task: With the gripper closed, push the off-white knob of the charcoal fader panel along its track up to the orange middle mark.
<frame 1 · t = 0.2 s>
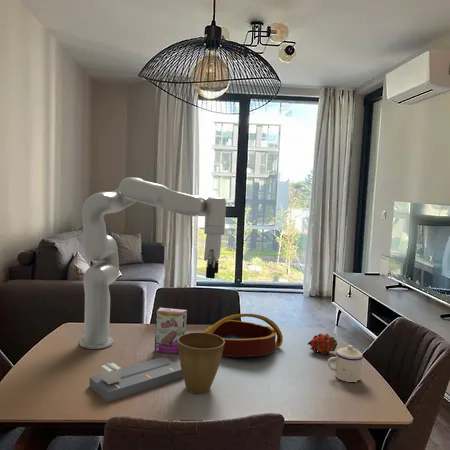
hand: (212, 275, 161), 31 cm above the table, tool pointing down, fingers open, 9 cm apart
fader panel: (138, 381, 139), on the table
plant pot: (198, 388, 137), on the table
fader knob: (110, 372, 132), point 6 cm above the table, slide at 0.0 cm
teacup with lid: (343, 378, 151), on the table
dragon fruit: (321, 353, 173), on the table
candy bar box: (169, 351, 166), on the table
decorative basket: (242, 350, 172), on the table
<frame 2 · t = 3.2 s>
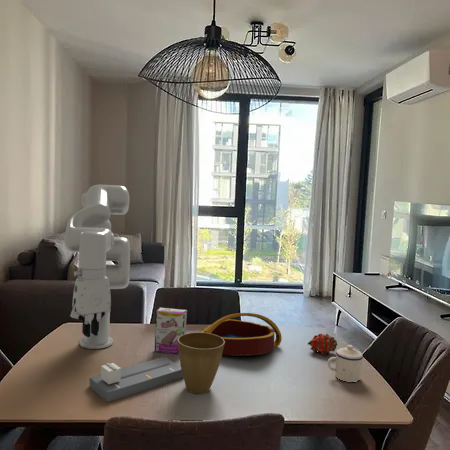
hand: (90, 334, 126), 19 cm above the table, tool pointing down, fingers closed
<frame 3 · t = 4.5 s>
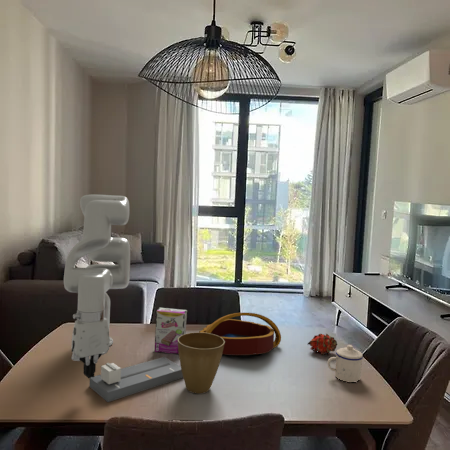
hand: (89, 375, 127), 7 cm above the table, tool pointing down, fingers closed
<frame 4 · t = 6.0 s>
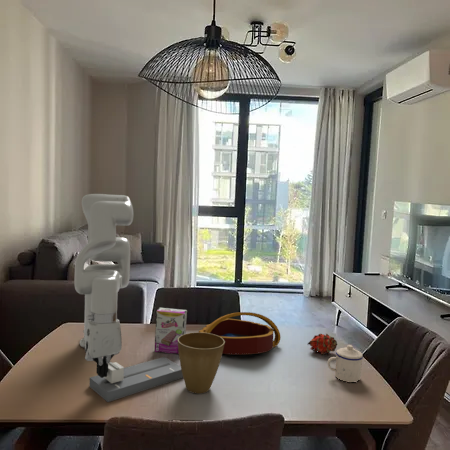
hand: (102, 375, 130), 6 cm above the table, tool pointing down, fingers closed
fader knob: (113, 371, 133), point 6 cm above the table, slide at 1.0 cm, touching gripper
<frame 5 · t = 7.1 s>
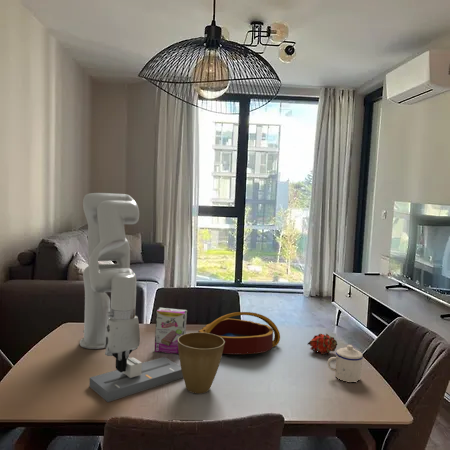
hand: (121, 370, 134), 6 cm above the table, tool pointing down, fingers closed
fader knob: (132, 366, 137), point 6 cm above the table, slide at 7.4 cm, touching gripper
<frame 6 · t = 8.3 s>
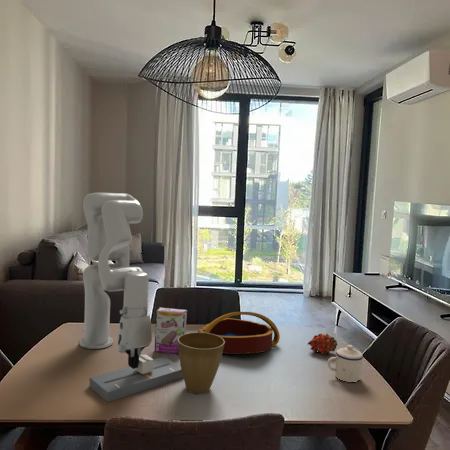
hand: (133, 366, 137), 6 cm above the table, tool pointing down, fingers closed
fader knob: (143, 363, 140), point 6 cm above the table, slide at 11.8 cm, touching gripper
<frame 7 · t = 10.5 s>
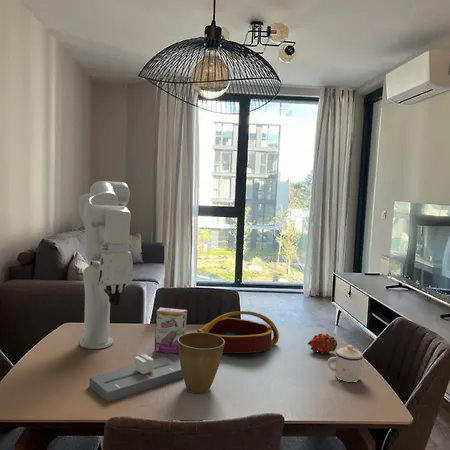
hand: (114, 304, 137), 25 cm above the table, tool pointing down, fingers closed
fader knob: (144, 363, 140), point 6 cm above the table, slide at 11.9 cm
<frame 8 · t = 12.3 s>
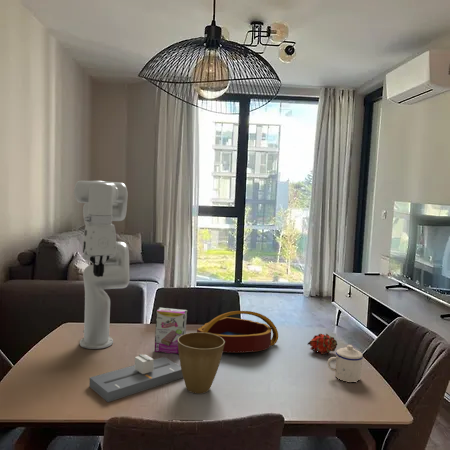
hand: (98, 275, 141), 33 cm above the table, tool pointing down, fingers closed
at the end: fader knob slide at 11.9 cm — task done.
